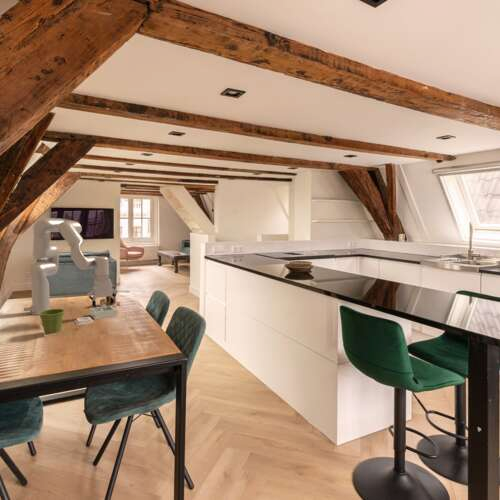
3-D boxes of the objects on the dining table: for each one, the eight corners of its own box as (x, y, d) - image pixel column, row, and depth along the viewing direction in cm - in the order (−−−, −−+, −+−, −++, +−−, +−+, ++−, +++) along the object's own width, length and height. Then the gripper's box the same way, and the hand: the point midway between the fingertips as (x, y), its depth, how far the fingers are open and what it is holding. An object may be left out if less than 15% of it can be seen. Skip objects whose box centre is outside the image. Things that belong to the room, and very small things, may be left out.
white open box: (95, 321, 208) (94, 312, 208) (90, 316, 218) (90, 308, 217) (116, 317, 215) (116, 309, 215) (111, 313, 225) (110, 305, 224)
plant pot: (41, 330, 189) (40, 309, 188) (66, 328, 194) (66, 308, 193) (37, 337, 178) (36, 315, 177) (64, 335, 182) (63, 313, 182)
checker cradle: (77, 326, 197) (77, 322, 197) (74, 322, 204) (74, 318, 204) (94, 323, 202) (94, 319, 202) (91, 320, 210) (91, 316, 210)
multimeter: (116, 307, 240) (115, 277, 238) (103, 306, 242) (102, 277, 240) (128, 302, 254) (127, 274, 252) (115, 302, 256) (114, 274, 254)
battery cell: (100, 316, 214) (100, 299, 213) (99, 315, 217) (99, 298, 216) (107, 315, 216) (107, 299, 215) (105, 314, 219) (105, 298, 218)
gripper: (88, 279, 206) (88, 309, 208) (119, 277, 216) (119, 305, 218) (85, 278, 213) (86, 306, 214) (115, 275, 223) (116, 302, 224)
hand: (103, 305), depth 216 cm, fingers open, 9 cm apart
